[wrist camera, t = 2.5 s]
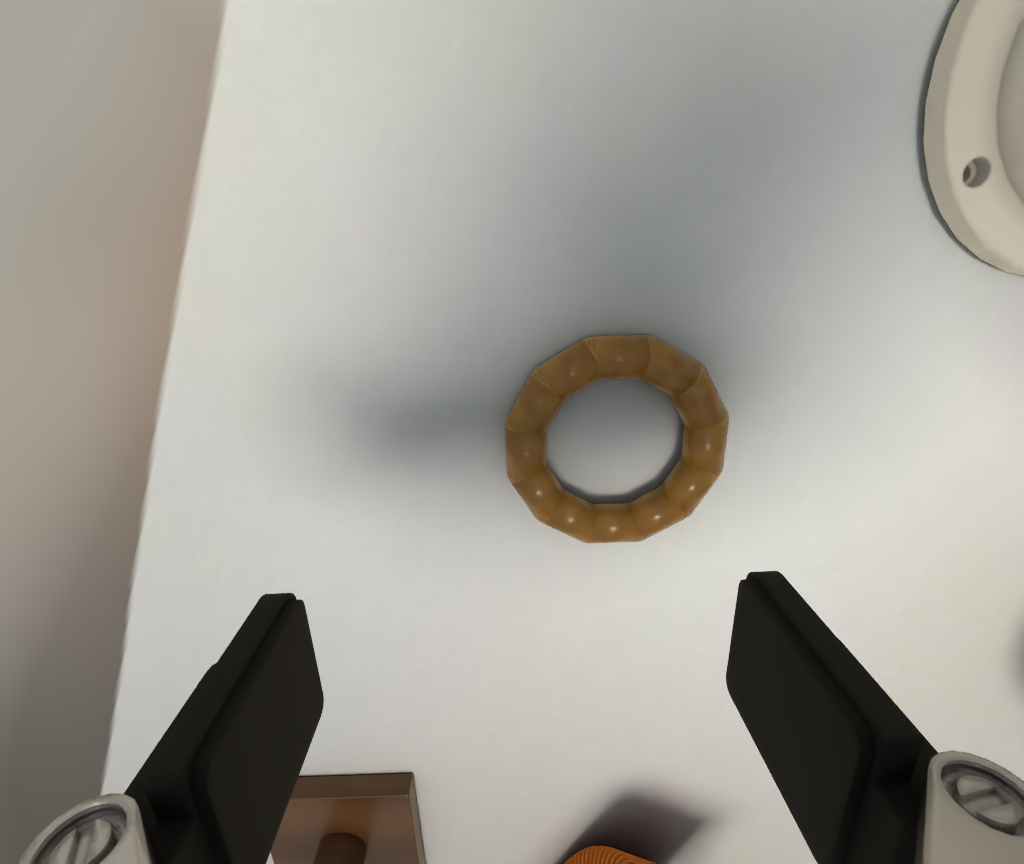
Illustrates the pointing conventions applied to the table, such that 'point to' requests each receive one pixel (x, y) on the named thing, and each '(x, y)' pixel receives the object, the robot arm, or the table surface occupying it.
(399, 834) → the post stand
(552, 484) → the ring
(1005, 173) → the robot arm
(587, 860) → the coil
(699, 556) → the table surface
